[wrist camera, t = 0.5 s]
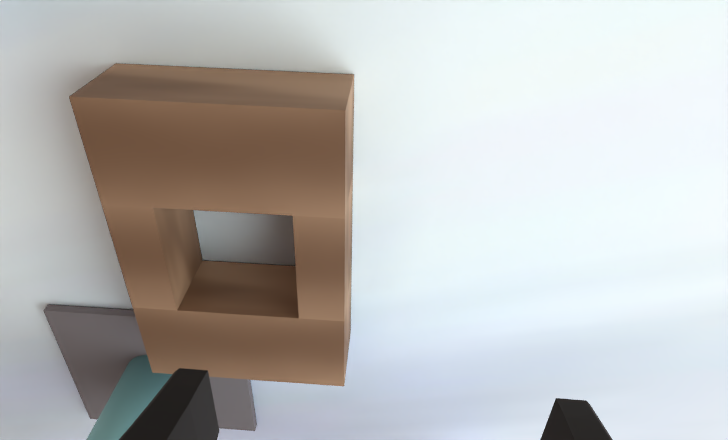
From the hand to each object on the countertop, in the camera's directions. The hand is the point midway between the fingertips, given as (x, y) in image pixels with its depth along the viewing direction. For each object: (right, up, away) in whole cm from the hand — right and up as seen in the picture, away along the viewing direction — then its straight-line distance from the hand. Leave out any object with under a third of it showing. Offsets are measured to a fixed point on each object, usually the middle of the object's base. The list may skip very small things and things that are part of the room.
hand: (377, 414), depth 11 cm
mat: (-11, -3, +15) cm, 19 cm away
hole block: (-5, +4, +10) cm, 12 cm away
